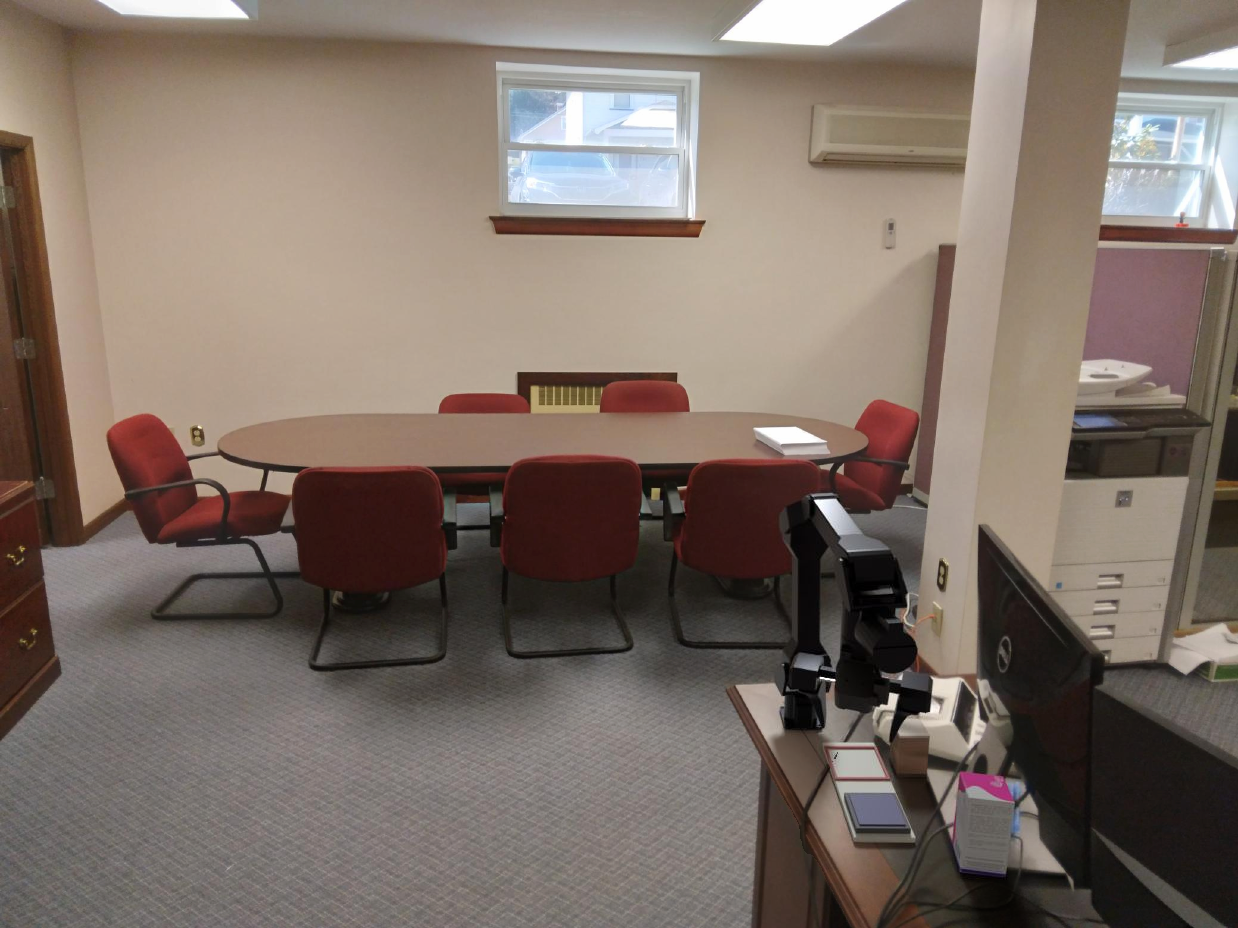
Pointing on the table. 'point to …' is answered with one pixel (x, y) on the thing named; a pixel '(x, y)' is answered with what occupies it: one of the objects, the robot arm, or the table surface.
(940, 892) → the table surface
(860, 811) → the blotter board
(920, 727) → the stamp
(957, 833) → the supplement box
